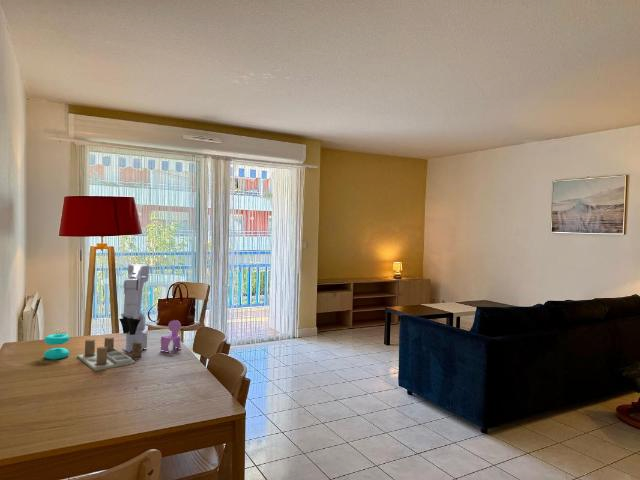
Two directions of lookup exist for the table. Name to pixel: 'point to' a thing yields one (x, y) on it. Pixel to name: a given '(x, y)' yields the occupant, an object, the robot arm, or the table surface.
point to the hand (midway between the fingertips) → (129, 334)
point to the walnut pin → (137, 350)
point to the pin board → (104, 355)
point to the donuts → (56, 352)
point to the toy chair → (171, 336)
